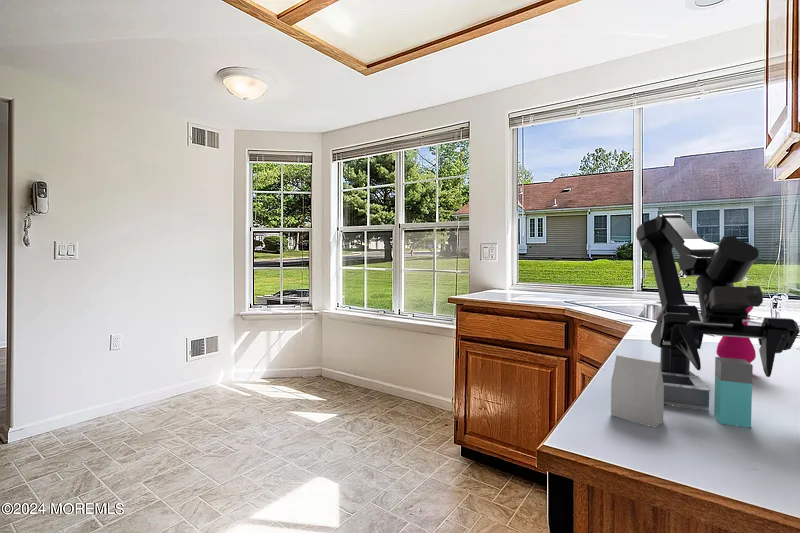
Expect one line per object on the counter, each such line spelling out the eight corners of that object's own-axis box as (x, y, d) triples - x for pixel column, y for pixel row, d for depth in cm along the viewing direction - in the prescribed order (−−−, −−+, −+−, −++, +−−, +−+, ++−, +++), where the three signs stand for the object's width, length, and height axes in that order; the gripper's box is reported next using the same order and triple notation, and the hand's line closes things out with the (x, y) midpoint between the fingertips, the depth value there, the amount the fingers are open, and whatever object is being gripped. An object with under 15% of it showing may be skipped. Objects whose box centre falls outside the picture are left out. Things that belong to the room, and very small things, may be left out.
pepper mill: (747, 369, 102) (748, 285, 101) (761, 377, 95) (763, 287, 94) (711, 366, 104) (713, 285, 104) (722, 374, 97) (724, 287, 97)
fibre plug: (714, 415, 72) (715, 356, 72) (743, 419, 70) (744, 359, 70) (719, 423, 69) (721, 362, 68) (751, 428, 67) (752, 364, 67)
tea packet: (654, 427, 67) (655, 364, 67) (610, 415, 72) (611, 356, 72) (663, 421, 69) (664, 361, 69) (620, 410, 75) (621, 353, 74)
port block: (639, 387, 87) (639, 369, 87) (697, 394, 83) (698, 375, 83) (643, 402, 78) (643, 382, 78) (709, 410, 74) (709, 390, 74)
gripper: (663, 268, 78) (671, 338, 68) (796, 270, 70) (826, 349, 60) (658, 307, 85) (664, 375, 75) (777, 312, 77) (801, 389, 67)
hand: (733, 372), depth 69 cm, fingers open, 9 cm apart
